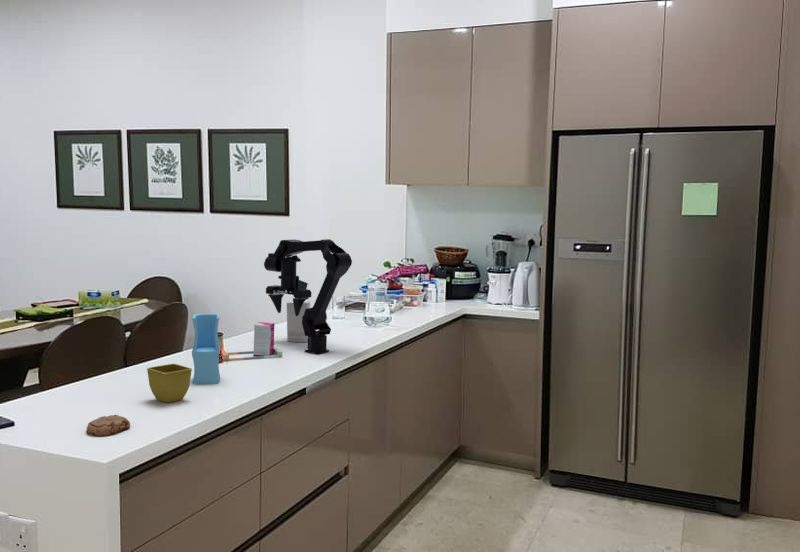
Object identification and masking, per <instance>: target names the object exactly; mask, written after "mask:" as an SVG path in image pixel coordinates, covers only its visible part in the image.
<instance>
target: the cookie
mask: <svg viewBox="0 0 800 552" xmlns="http://www.w3.org/2000/svg"><path fill="white" fill-rule="evenodd" d="M129 428H131V422H130V420H128V418H127V417H125V416H121V415H118V414H113V415H112V414H110V415H108V416H106V415H104V416H100V417H98V418H96V419H94V420H91V421H90V422H88V423H87V427H86V434H89V436H90V437H106V436H110V435H114V434H117V433H119V432H121V431H122V430H128V429H129Z"/></svg>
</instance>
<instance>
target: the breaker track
mask: <svg viewBox="0 0 800 552" xmlns="http://www.w3.org/2000/svg"><path fill="white" fill-rule="evenodd" d="M226 351H227V350H225V349H224V357H222V358H221V359H222V360H223V362H228V361H229V362H231V361H245V360H247V361H248V360H261V359H263V360H264V359H274V358H275V359H277V358H278V359H279V358H283V351H282V350H280V349H279V348H278V347H277V346H276V345H274V354H273V355H271V356H259V357H255V356H248V357H247V356H246V357H231V358H230V356H231V355H233V356H234V355H246V354H254V350H248V351H234V352H233V351H231V352H229V351H227V352H226Z"/></svg>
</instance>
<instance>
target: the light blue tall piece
mask: <svg viewBox="0 0 800 552" xmlns="http://www.w3.org/2000/svg"><path fill="white" fill-rule="evenodd" d="M220 316H221V314H220V313H195V314H193V316H192V317H191V319H192V325H193V329H194V341H193V345H192V346H193V347H192V350H191V356H192V361H193V368H194V369H193V371H194V372H193V373H194V374H193V378H192V384H194V385H210V384H211V385H216V384H219V383H220V381H221V375H220V367H219V363H220V362H219V361H220V355H219V354H220V349H221V344H220V340H219V334H218V329H219V327H218V326H219V321H220Z"/></svg>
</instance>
